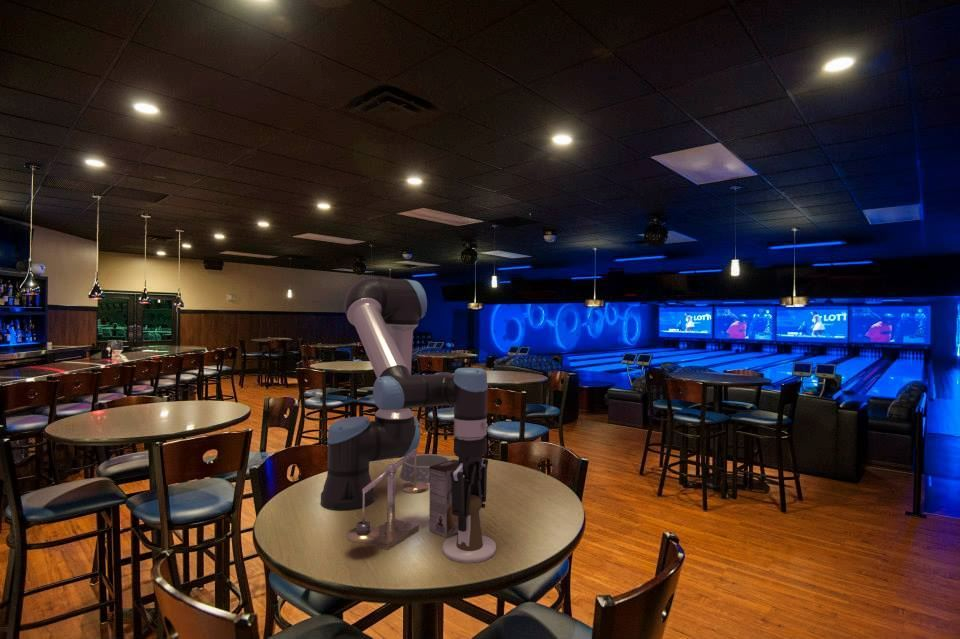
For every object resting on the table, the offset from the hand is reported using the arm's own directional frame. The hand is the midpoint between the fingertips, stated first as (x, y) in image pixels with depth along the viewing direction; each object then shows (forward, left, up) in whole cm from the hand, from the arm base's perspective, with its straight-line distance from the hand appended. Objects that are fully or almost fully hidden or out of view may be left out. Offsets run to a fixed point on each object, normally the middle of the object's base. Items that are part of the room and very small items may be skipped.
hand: (469, 540), depth 112 cm
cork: (0, 0, -1) cm, 1 cm away
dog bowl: (-41, +42, -3) cm, 59 cm away
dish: (0, 0, -2) cm, 2 cm away
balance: (-20, -3, -2) cm, 20 cm away
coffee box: (-10, +8, -3) cm, 13 cm away
